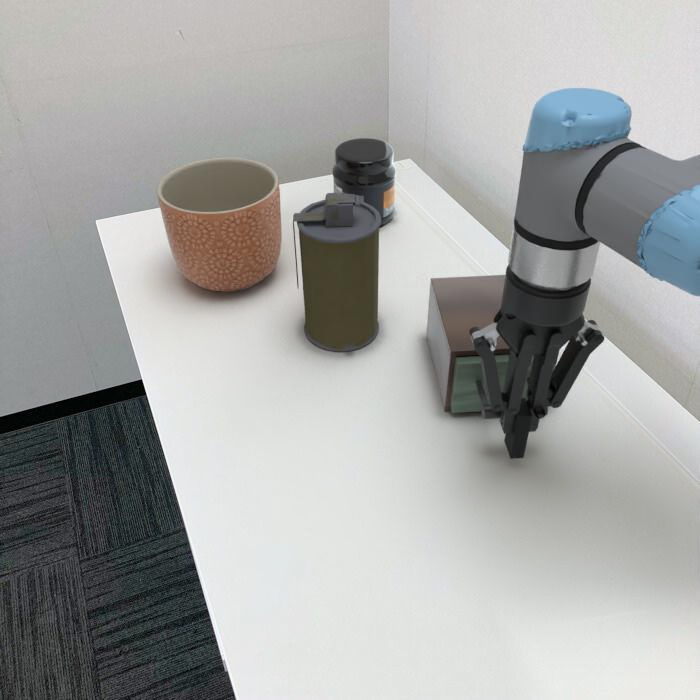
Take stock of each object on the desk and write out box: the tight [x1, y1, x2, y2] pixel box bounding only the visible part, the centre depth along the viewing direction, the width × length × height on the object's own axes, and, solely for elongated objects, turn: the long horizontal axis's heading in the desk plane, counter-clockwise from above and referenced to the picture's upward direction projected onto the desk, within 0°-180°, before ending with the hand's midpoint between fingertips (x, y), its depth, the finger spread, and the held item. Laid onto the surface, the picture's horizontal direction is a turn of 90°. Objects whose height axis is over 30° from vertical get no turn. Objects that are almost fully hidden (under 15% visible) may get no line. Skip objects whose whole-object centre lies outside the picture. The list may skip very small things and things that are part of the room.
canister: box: [292, 192, 381, 352], centre depth 92 cm, size 11×10×20 cm
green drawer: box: [450, 355, 555, 420], centre depth 85 cm, size 19×11×8 cm, turn 4°
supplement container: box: [332, 137, 397, 226], centre depth 118 cm, size 10×10×12 cm
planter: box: [156, 156, 283, 293], centre depth 104 cm, size 17×17×15 cm
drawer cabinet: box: [426, 274, 557, 412], centre depth 88 cm, size 15×13×10 cm
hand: (513, 449), depth 78 cm, fingers closed
